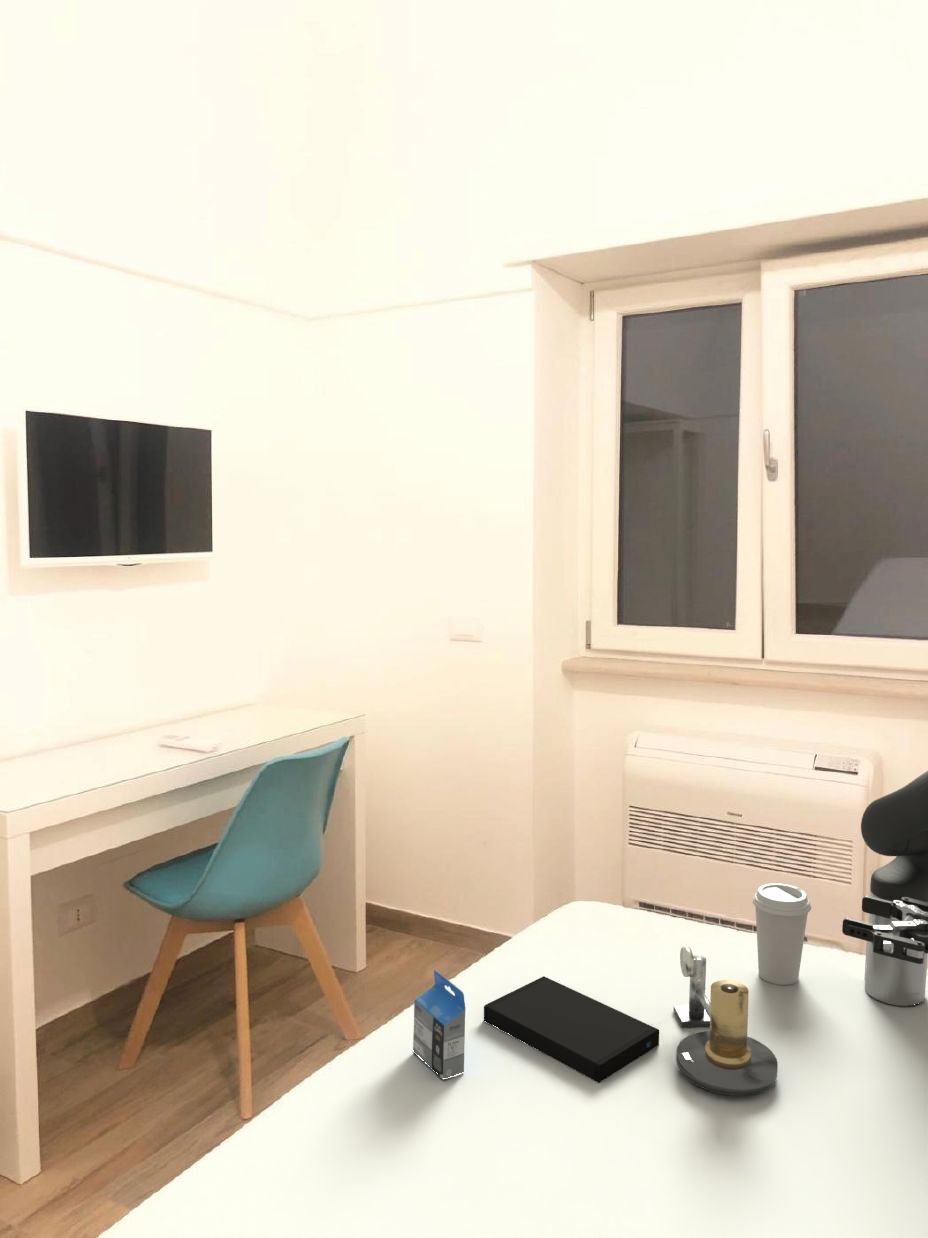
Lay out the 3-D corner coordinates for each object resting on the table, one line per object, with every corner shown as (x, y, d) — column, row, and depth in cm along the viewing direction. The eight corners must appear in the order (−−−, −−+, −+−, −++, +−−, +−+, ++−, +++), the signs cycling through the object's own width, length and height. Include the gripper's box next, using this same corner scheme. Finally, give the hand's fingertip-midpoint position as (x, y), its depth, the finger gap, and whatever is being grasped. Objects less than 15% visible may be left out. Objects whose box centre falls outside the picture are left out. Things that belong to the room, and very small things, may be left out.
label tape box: (411, 1053, 153) (411, 975, 152) (435, 1045, 156) (435, 968, 154) (442, 1082, 146) (442, 1000, 144) (466, 1074, 148) (466, 993, 146)
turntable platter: (665, 1041, 155) (665, 1030, 154) (757, 1038, 155) (757, 1027, 155) (691, 1097, 141) (692, 1085, 141) (792, 1093, 142) (792, 1081, 141)
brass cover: (698, 1046, 151) (700, 979, 149) (741, 1043, 151) (742, 976, 150) (714, 1070, 144) (715, 1000, 143) (758, 1067, 145) (760, 997, 144)
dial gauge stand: (673, 1011, 165) (675, 941, 164) (710, 1010, 166) (712, 940, 164) (694, 1053, 153) (697, 978, 152) (734, 1051, 154) (737, 977, 152)
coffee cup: (815, 990, 172) (819, 904, 170) (757, 989, 172) (761, 903, 170) (797, 963, 182) (801, 881, 180) (743, 962, 182) (746, 881, 180)
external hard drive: (544, 992, 172) (544, 975, 172) (659, 1048, 156) (659, 1029, 155) (483, 1023, 162) (483, 1005, 162) (599, 1085, 146) (599, 1066, 145)
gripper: (999, 900, 134) (870, 870, 144) (976, 941, 123) (838, 905, 133) (994, 955, 136) (866, 921, 145) (971, 1000, 124) (834, 960, 134)
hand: (853, 914), depth 139 cm, fingers open, 8 cm apart
